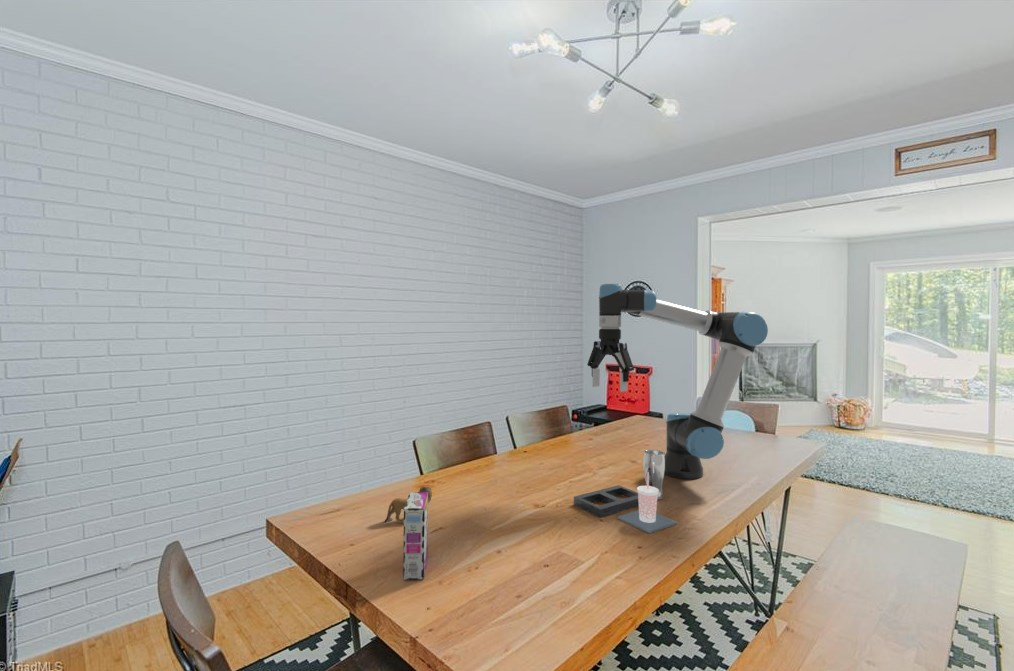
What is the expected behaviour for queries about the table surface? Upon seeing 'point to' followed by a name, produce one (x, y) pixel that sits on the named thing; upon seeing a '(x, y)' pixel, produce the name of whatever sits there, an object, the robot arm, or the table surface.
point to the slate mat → (644, 526)
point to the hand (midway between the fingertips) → (609, 388)
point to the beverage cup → (647, 502)
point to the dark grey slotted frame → (607, 501)
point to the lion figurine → (400, 504)
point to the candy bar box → (415, 536)
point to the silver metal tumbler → (654, 469)
